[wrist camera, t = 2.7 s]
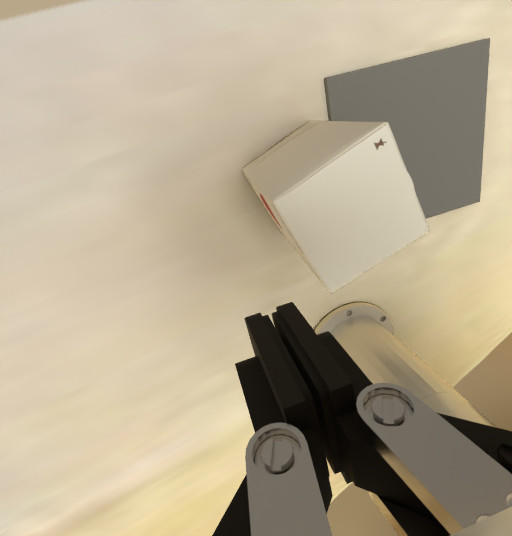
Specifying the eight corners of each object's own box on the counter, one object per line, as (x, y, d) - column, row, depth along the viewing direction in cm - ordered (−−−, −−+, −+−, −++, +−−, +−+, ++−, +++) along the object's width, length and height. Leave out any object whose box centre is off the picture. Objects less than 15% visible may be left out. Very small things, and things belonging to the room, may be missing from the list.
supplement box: (238, 169, 34) (268, 199, 21) (310, 118, 33) (391, 115, 20) (281, 236, 38) (330, 298, 24) (347, 192, 37) (435, 231, 24)
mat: (475, 200, 43) (479, 201, 42) (343, 242, 40) (346, 243, 40) (485, 39, 35) (490, 38, 35) (323, 78, 33) (326, 77, 32)
